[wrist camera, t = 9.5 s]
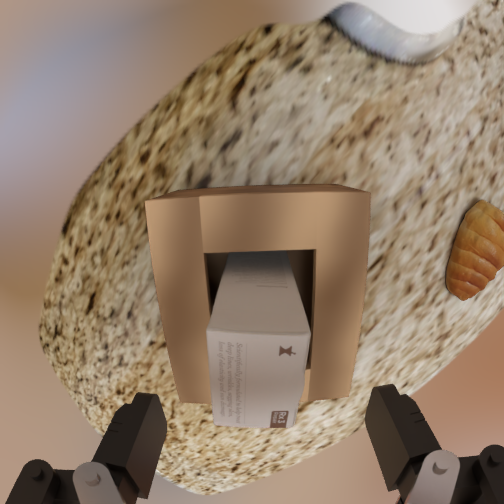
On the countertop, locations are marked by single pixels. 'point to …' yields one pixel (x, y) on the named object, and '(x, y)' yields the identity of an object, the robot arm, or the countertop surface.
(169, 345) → the slot box
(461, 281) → the pastry
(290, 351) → the skincare box
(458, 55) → the countertop surface
